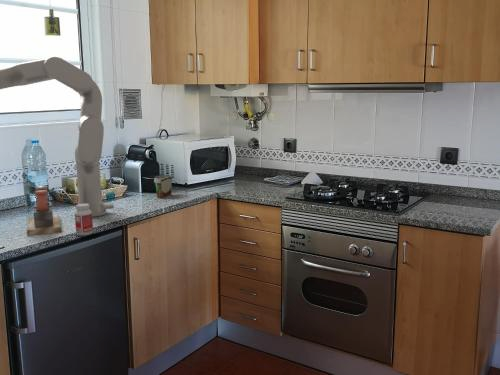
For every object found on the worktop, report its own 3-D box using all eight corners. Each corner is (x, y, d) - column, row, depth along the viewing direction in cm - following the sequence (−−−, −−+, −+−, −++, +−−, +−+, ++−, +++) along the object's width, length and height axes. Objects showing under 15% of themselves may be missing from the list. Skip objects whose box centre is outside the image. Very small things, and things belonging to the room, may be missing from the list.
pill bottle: (95, 231, 202) (93, 202, 200) (90, 235, 196) (88, 206, 194) (79, 231, 203) (77, 203, 201) (73, 236, 197) (71, 206, 194)
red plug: (49, 212, 207) (47, 189, 205) (49, 214, 203) (47, 191, 201) (37, 213, 205) (35, 190, 204) (37, 215, 201) (34, 192, 200)
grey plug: (49, 206, 217) (47, 185, 215) (49, 208, 213) (47, 187, 211) (37, 207, 215) (35, 186, 214) (37, 209, 211) (35, 187, 210)
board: (59, 219, 222) (58, 200, 221) (61, 232, 202) (59, 211, 201) (28, 222, 218) (27, 203, 217) (27, 235, 198) (25, 214, 197)
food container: (162, 193, 274) (161, 174, 272) (172, 194, 272) (172, 175, 270) (150, 198, 262) (149, 178, 261) (161, 199, 260) (160, 179, 259)
